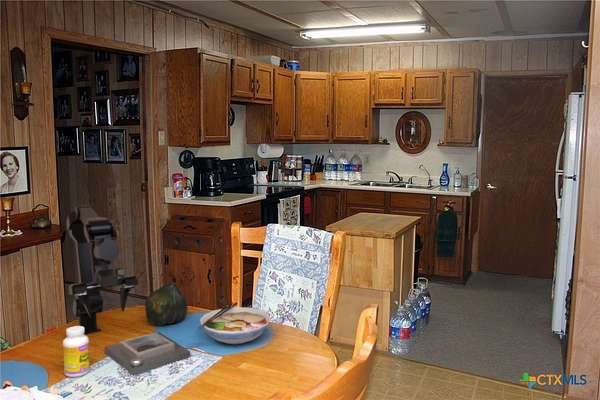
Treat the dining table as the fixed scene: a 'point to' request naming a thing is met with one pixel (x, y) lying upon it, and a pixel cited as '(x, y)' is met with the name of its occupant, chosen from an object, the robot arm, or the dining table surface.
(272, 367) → the dining table surface
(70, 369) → the supplement bottle
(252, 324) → the ramen bowl
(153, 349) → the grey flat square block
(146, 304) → the squash
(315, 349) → the dining table surface
